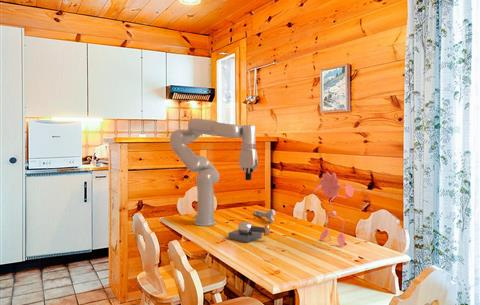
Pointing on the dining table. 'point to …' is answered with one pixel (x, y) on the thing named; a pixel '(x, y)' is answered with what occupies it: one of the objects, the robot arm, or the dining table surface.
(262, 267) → the dining table surface
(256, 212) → the wrench
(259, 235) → the base
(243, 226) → the ball-ended lever handle
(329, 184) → the figurine
